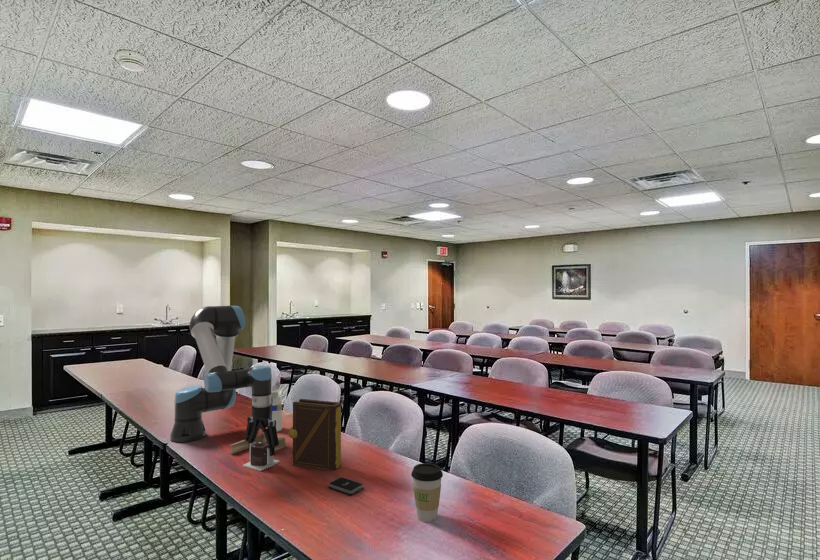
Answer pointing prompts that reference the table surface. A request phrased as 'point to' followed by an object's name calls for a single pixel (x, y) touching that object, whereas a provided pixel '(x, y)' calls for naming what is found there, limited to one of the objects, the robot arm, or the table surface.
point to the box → (259, 454)
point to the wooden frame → (259, 438)
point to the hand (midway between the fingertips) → (261, 461)
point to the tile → (260, 466)
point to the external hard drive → (346, 486)
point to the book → (316, 434)
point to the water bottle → (276, 406)
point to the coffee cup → (427, 490)
